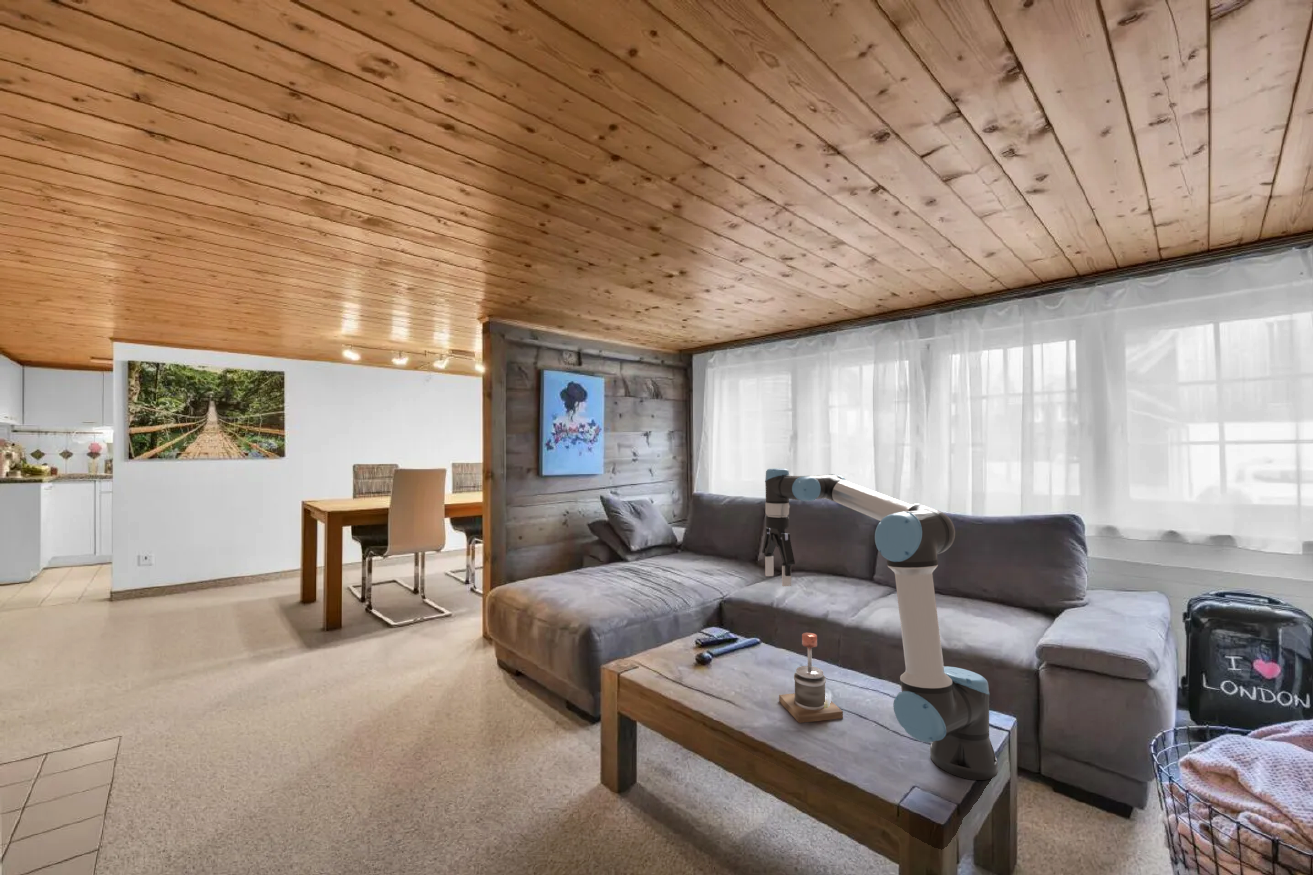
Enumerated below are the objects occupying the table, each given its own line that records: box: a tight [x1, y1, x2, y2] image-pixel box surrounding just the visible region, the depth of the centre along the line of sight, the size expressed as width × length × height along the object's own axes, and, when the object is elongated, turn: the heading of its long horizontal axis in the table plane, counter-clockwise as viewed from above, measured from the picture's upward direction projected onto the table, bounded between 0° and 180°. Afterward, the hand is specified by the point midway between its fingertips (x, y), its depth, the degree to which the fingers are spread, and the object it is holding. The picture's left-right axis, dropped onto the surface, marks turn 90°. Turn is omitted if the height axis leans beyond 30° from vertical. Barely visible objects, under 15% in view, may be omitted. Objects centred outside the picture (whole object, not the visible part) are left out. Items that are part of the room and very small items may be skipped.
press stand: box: [778, 672, 844, 724], centre depth 169 cm, size 14×14×10 cm
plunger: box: [795, 632, 824, 679], centre depth 170 cm, size 8×8×12 cm
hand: (777, 580), depth 181 cm, fingers open, 13 cm apart
